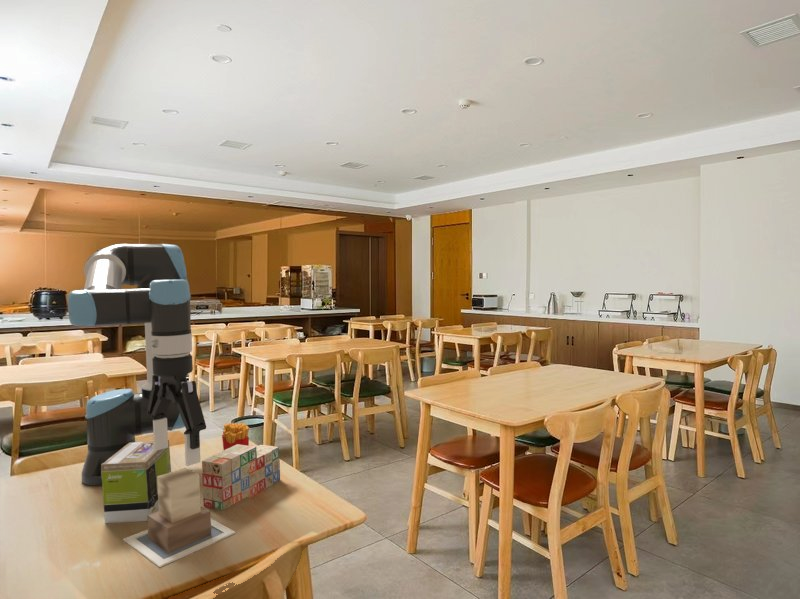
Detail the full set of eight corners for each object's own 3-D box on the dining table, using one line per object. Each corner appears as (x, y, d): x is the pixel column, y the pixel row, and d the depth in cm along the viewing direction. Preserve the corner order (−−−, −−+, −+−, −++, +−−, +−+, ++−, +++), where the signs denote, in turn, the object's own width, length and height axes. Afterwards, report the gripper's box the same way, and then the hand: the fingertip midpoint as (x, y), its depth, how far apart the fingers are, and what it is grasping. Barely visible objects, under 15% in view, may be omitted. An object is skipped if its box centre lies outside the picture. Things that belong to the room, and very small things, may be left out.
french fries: (220, 468, 147) (218, 424, 146) (231, 463, 151) (230, 420, 150) (242, 474, 142) (241, 428, 142) (254, 469, 146) (252, 424, 145)
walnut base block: (148, 538, 106) (147, 515, 106) (189, 521, 113) (188, 499, 113) (168, 553, 101) (167, 528, 100) (211, 534, 107) (210, 511, 107)
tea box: (132, 498, 128) (129, 440, 127) (173, 496, 129) (171, 438, 128) (103, 528, 113) (99, 462, 112) (150, 525, 114) (147, 460, 113)
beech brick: (158, 514, 106) (157, 476, 106) (186, 503, 111) (185, 467, 111) (172, 522, 102) (170, 483, 102) (200, 511, 107) (199, 474, 107)
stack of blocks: (262, 477, 141) (260, 433, 140) (280, 480, 138) (279, 435, 137) (203, 510, 121) (201, 459, 120) (223, 515, 119) (221, 463, 118)
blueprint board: (123, 544, 106) (123, 538, 106) (196, 515, 118) (196, 510, 118) (159, 572, 96) (159, 566, 96) (235, 537, 108) (235, 531, 108)
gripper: (127, 351, 110) (131, 447, 111) (185, 364, 94) (189, 476, 95) (162, 346, 116) (166, 438, 117) (222, 358, 100) (225, 464, 101)
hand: (176, 456), depth 106 cm, fingers open, 13 cm apart
